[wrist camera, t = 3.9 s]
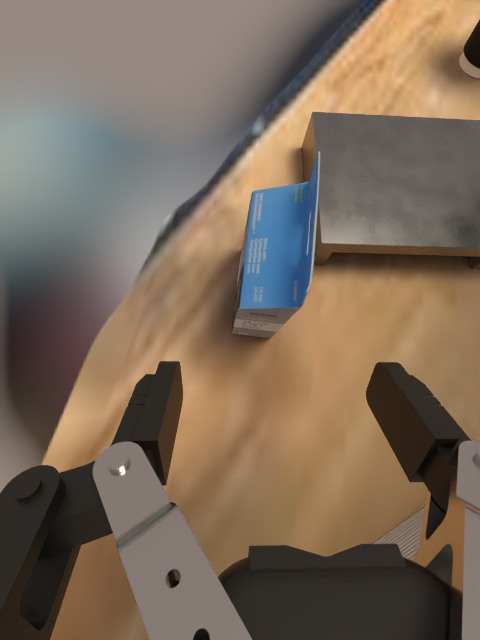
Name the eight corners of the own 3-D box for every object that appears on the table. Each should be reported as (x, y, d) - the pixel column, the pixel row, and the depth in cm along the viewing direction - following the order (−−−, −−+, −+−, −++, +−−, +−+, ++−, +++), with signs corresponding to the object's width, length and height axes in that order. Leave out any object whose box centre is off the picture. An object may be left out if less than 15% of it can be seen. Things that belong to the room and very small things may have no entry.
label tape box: (241, 247, 28) (252, 138, 16) (282, 252, 28) (324, 147, 16) (230, 334, 25) (233, 285, 13) (275, 340, 25) (317, 295, 14)
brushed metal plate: (459, 154, 32) (492, 121, 28) (485, 268, 28) (527, 249, 24) (301, 146, 31) (312, 111, 27) (308, 264, 27) (321, 243, 24)
